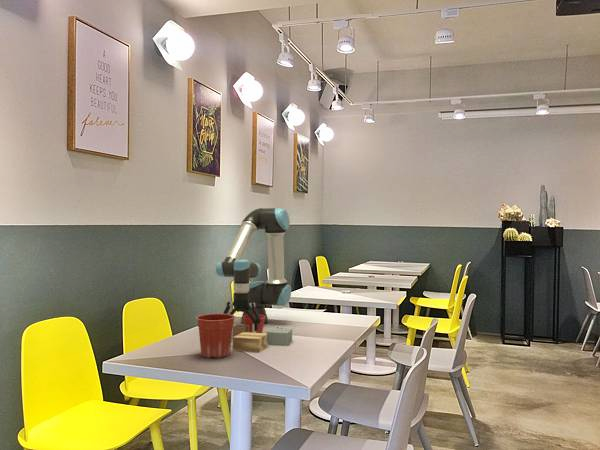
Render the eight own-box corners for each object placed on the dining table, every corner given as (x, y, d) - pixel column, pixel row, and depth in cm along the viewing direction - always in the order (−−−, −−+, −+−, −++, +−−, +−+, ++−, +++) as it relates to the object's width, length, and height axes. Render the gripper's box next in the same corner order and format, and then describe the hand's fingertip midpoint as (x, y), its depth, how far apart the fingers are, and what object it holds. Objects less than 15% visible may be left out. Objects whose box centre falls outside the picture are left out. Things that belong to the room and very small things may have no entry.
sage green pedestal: (271, 340, 242) (272, 327, 242) (292, 341, 240) (292, 328, 240) (266, 345, 233) (266, 332, 233) (287, 346, 231) (287, 333, 231)
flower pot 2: (261, 338, 245) (261, 318, 245) (240, 337, 248) (240, 317, 248) (267, 333, 256) (267, 314, 256) (246, 332, 258) (246, 313, 258)
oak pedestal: (243, 344, 233) (243, 331, 233) (267, 346, 230) (267, 333, 230) (232, 351, 221) (232, 337, 221) (258, 353, 218) (258, 339, 218)
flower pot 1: (200, 349, 222) (201, 313, 222) (237, 350, 222) (238, 313, 222) (191, 359, 206) (191, 320, 206) (231, 360, 205) (231, 320, 205)
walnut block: (237, 338, 244) (237, 324, 244) (249, 339, 243) (249, 325, 243) (232, 341, 239) (232, 326, 239) (244, 342, 237) (244, 327, 237)
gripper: (214, 291, 241) (213, 336, 240) (263, 294, 234) (262, 340, 233) (220, 290, 248) (220, 333, 247) (268, 292, 241) (268, 336, 241)
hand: (240, 336), depth 240 cm, fingers open, 13 cm apart
